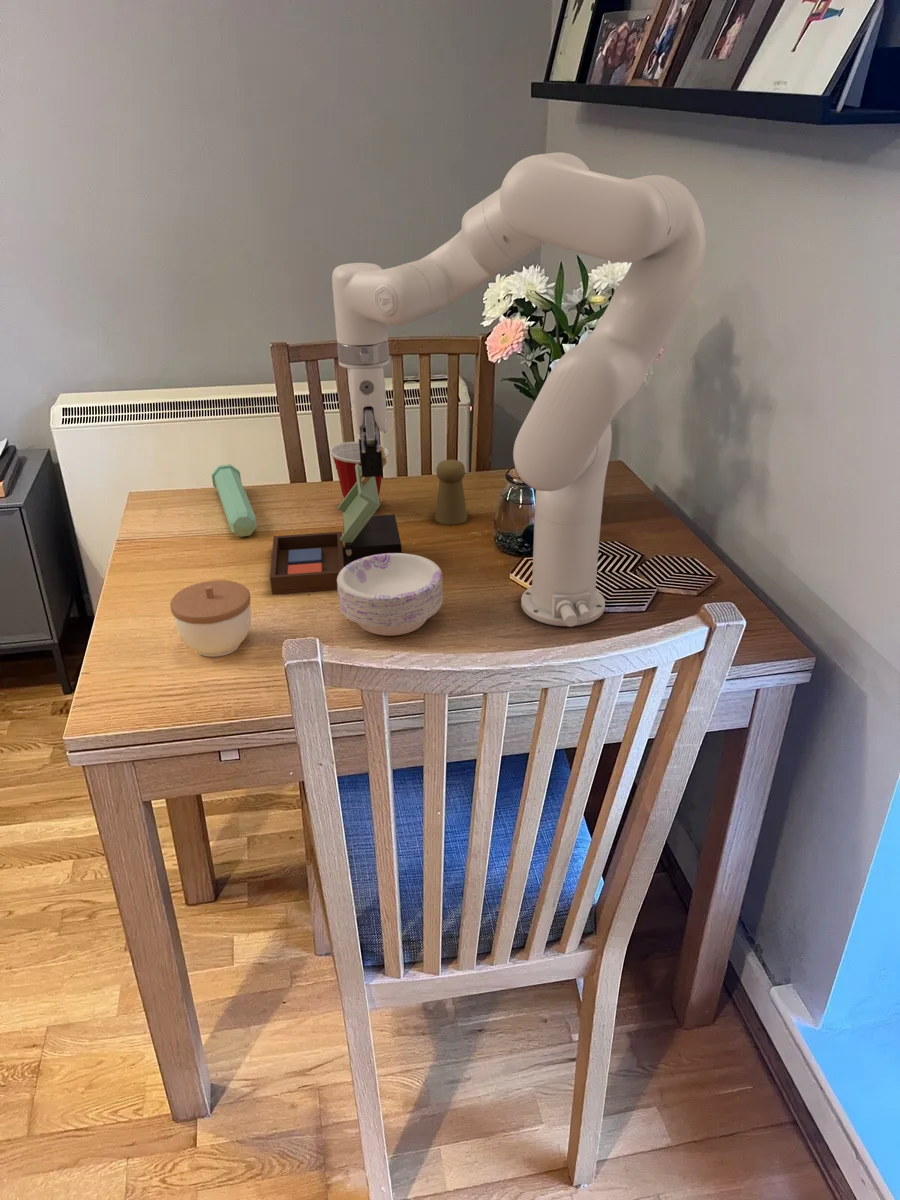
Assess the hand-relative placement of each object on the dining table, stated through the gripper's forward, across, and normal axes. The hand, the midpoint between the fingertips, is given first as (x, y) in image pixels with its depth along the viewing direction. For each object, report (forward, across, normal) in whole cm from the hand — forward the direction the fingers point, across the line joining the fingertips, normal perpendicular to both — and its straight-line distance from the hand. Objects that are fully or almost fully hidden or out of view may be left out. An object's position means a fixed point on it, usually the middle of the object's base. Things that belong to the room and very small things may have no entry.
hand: (371, 468), depth 137 cm
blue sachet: (+15, +3, +12) cm, 20 cm away
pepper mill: (+17, +17, -15) cm, 28 cm away
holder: (+17, 0, +11) cm, 20 cm away
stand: (+17, 0, +1) cm, 17 cm away
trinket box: (+17, -22, +24) cm, 37 cm away
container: (+17, +26, +25) cm, 40 cm away
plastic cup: (+17, +24, +1) cm, 30 cm away
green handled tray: (+5, 0, 0) cm, 5 cm away
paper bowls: (+17, -19, -1) cm, 26 cm away
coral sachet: (+16, -3, +12) cm, 20 cm away
